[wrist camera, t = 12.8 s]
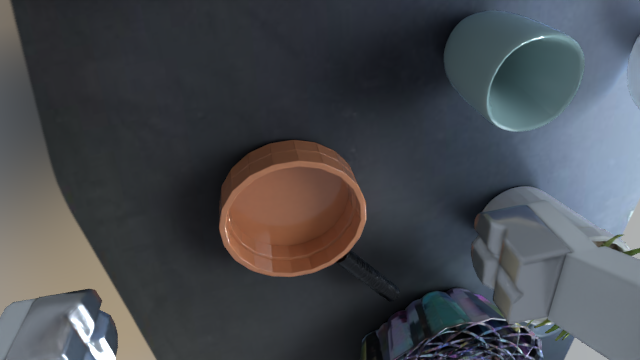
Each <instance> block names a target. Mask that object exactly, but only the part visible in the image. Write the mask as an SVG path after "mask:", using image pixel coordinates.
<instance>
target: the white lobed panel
mask: <svg viewBox="0 0 640 360" xmlns="http://www.w3.org/2000/svg"><path fill="white" fill-rule="evenodd" d="M627 83H628V88H629V92H630V95H631V97H632V99H633V101H634V103H635V104H636V106H637V107H638V108H639V109H640V35H639V36H638V38H637V40H636V42H635V44H634V46H633V48H632V51H631V54H630V57H629V61H628V66H627Z"/></svg>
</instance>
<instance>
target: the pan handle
mask: <svg viewBox="0 0 640 360" xmlns="http://www.w3.org/2000/svg"><path fill="white" fill-rule="evenodd" d="M336 262H337V263H338V264H339V265H341V266H342V267H343V268H345V269H346V270H347V271H349V272H350V273H351V274H353V275H354V276H355V277H357V278H358V279H359V280H361V281H362V282H363V283H365V284H366V285H367V286H369V287H370V288H371V289H373V290H374V291H375V292H377V293H378V294H380V295H381V296H382V297H384V298H385V299H386V300H388V301H394V300H396V299H397V298H398V296H399V293H400V291H399V288H398V287H397V286H396V285H394V284H393V283H392V282H391V281H389V280H388V279H387V278H386V277H384V276H383V275H382V274H380V273H379V272H378V271H377V270H375V269H374V268H373V267H372V266H370V265H369V264H368V263H367V262H365V261H364V260H363V259H362V258H360V257H359V256H358V255H356V254H355V253H354V252H353V251H351V250H350V251H349V252H348V253H347V254H346V255H344V256H343V257H342V258H340V259H339V260H338V261H336Z"/></svg>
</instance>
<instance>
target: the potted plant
mask: <svg viewBox="0 0 640 360" xmlns="http://www.w3.org/2000/svg"><path fill="white" fill-rule="evenodd" d="M540 200H547V201H550V202H551V203H552V204H553V205H554V206H555V207H556V208H557V209H559V210H560V211H561V212H562V213H563V214H564V215H565V216H566V217H567V218H568V219H569V220H570V221H571V222H572V223H573V224H574V225H575V226H576V227H577V228H578V229H580V230H581V231H582V232H583V233H584V234H585V235H586V236H587V237H588V238H589V239H590V240H591V241H592V242H593V243H594V244H595V245H596V246H597V247H604V246H606V247H609V248H611V249H614V250H616V251H619V252H622V253H624V254H627V255H629V256H632V255H635V254H637V253H640V248H639V249H634V250H630V248H629V247H628V246H627V244H626V243H625V242H624V241H622V240H621V239H619V238H618V237H620V236H623V235H616V236H614V235H613V234H611V233H610V232H608V231H606V230H605V229H600V228H599V227H597V226H596V225H594V224H593V223H591V222H590V221H588V220H587V219H585V218H584V217H582V216H581V215H579V214H577V213H576V212H574V211H573V210H571V209H570V208H568V207H567V206H565V205H564V204H562V203H561V202H559V201H558V200H556V199H555V198H553V197H551V196H550V195H548V194H547V193H545V192H543V191H541V190H540V189H537V188H534V187H528V186H521V187H516V188H512V189H509V190H507V191H505V192H503V193H501V194H500V195H498V196H496V197H495V198H494V199H493V200H491V201H490V202H489V203H488V204H487V206H486V207H485V208H484V210H483V211H482V212H487V211H492V210H497V209H502V208H507V207H512V206H517V205H522V204H525V203H530V202H535V201H540ZM525 322H527V323H528V324H527V326H528V325H529V324H534V325H537V326H535V327H534V328H537V327H540V326H543V325H549V324H554V323H553V322H551V321H549V320H548V317H546V318H541V319H535V320H530V321H525ZM557 328H559V326H557V325H556V324H555V325H554V326H553V327H552V328H551V329H549V330H548V331H546V332H545V333H549V332H552V331H554V330H556V329H557ZM566 333H567V332H566V331H565V330H563V331H562V332H561V333H560V335H559V336H558V337H557V338H556V339H555V341H557V340H558V339H560V338H561V337H562V336H563V335H565V334H566ZM568 335H570V334H569V333H567V334H566V335H565V337H564V338H563V339H562V341H563V340H564V339H565V338H566V337H567V336H568ZM582 343H583V342H582Z"/></svg>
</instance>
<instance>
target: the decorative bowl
mask: <svg viewBox="0 0 640 360" xmlns="http://www.w3.org/2000/svg"><path fill="white" fill-rule="evenodd" d="M543 357H544V356H543V353H542V343H541V339H540V338H538V337H537V336H535V334H534V333H533V332H532V331H531V330H530V329H529V328H528V327H527V326H521V325H520V324H519V323H514V324H508V323H507V321H506V320H505V318H504V316H503V315H502V313H501V312H500V310H499V309H498V308H497V307H496V306H495V305H493V304H492V303H491V302H489V301H488V300H487V299H485V298H484V297H483V296H481V295H478V294H473V293H471V292H470V291H469V290H466V289H463V288H460V287H458V288H452V289H450V290H448V291H447V292H440V291H433V292H429V293H427V294H426V295H424V296H423V297H422V299H418V300H416V301H413V302H412V303H411V304H410V305H409V306H408V307H407V308H406V309H405V310H401V311H398V312H396V313H395V314H393V315H392V316H390V318H389V319H388V322H387V323H384V324H383V325H382V326H381V327H380V328H379V329H378V330H375V331H373V332H371V333H369V334H367V335H366V336H365V337H364V338H363V340H362V346H361V359H360V360H542V359H543Z"/></svg>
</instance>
